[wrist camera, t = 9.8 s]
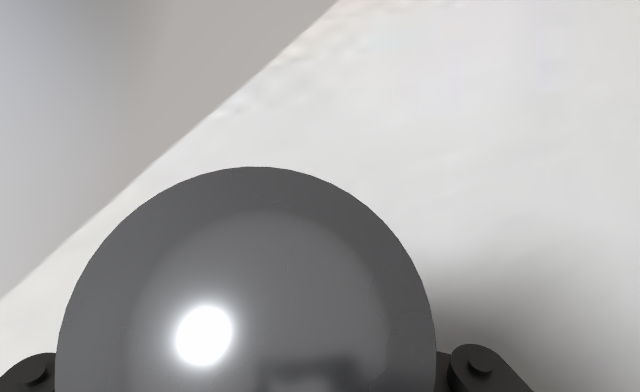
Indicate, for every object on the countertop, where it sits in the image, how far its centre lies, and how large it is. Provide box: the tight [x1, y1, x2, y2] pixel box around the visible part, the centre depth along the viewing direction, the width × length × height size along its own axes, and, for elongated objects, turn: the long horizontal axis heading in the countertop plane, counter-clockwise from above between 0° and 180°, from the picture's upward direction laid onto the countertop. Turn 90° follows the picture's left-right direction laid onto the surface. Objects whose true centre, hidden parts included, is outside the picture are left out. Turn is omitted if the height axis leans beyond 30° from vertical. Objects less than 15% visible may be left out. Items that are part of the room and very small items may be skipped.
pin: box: [55, 167, 436, 392], centre depth 12 cm, size 5×5×13 cm
